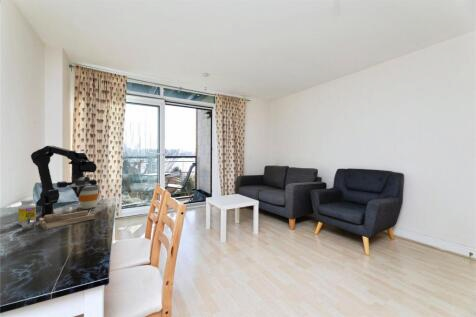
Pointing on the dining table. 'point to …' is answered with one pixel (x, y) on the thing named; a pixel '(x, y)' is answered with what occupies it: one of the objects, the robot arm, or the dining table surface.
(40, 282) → the dining table surface
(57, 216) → the cardboard box
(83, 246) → the dining table surface
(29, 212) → the supplement bottle
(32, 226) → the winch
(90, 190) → the reusable coffee cup
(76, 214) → the bay
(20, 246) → the dining table surface
